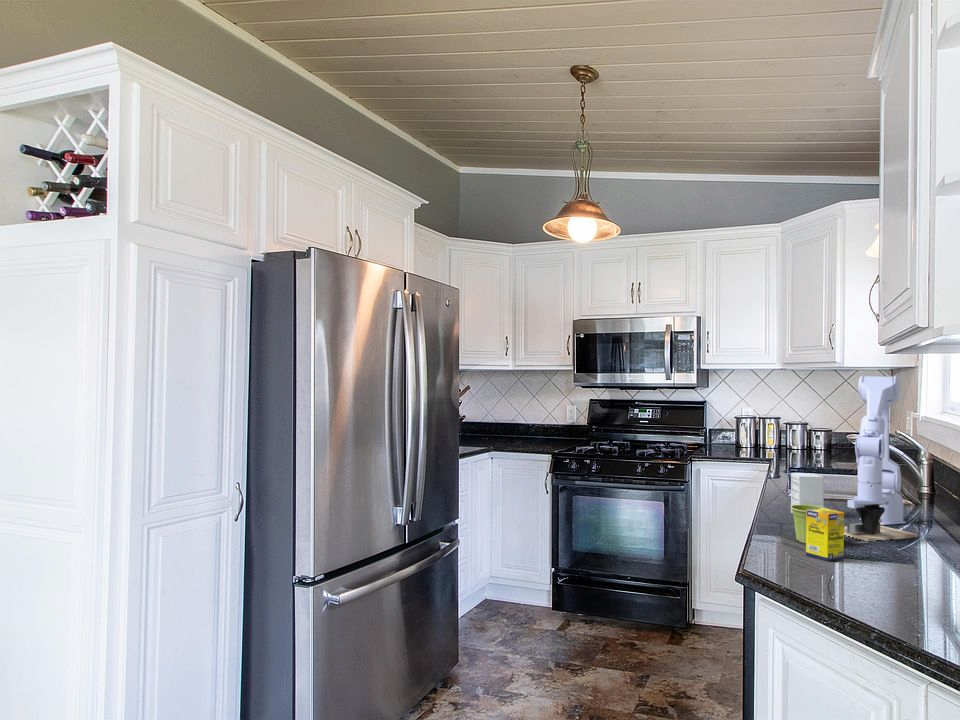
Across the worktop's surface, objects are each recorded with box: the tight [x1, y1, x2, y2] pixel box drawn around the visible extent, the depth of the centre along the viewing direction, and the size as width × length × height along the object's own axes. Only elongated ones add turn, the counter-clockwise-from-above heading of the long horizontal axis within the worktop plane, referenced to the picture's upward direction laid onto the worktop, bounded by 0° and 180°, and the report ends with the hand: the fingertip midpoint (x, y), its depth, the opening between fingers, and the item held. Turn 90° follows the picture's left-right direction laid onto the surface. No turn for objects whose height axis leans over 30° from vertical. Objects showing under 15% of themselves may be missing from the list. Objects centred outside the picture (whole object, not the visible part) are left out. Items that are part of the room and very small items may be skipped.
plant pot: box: [790, 505, 829, 544], centre depth 179 cm, size 9×9×9 cm
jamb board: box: [844, 521, 918, 542], centre depth 190 cm, size 18×13×4 cm
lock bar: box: [850, 519, 882, 534], centre depth 187 cm, size 10×3×3 cm, turn 112°
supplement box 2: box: [805, 507, 845, 562], centre depth 164 cm, size 6×6×11 cm
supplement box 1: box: [790, 472, 825, 514], centre depth 214 cm, size 7×7×13 cm
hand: (869, 533), depth 184 cm, fingers closed, pressing on lock bar
